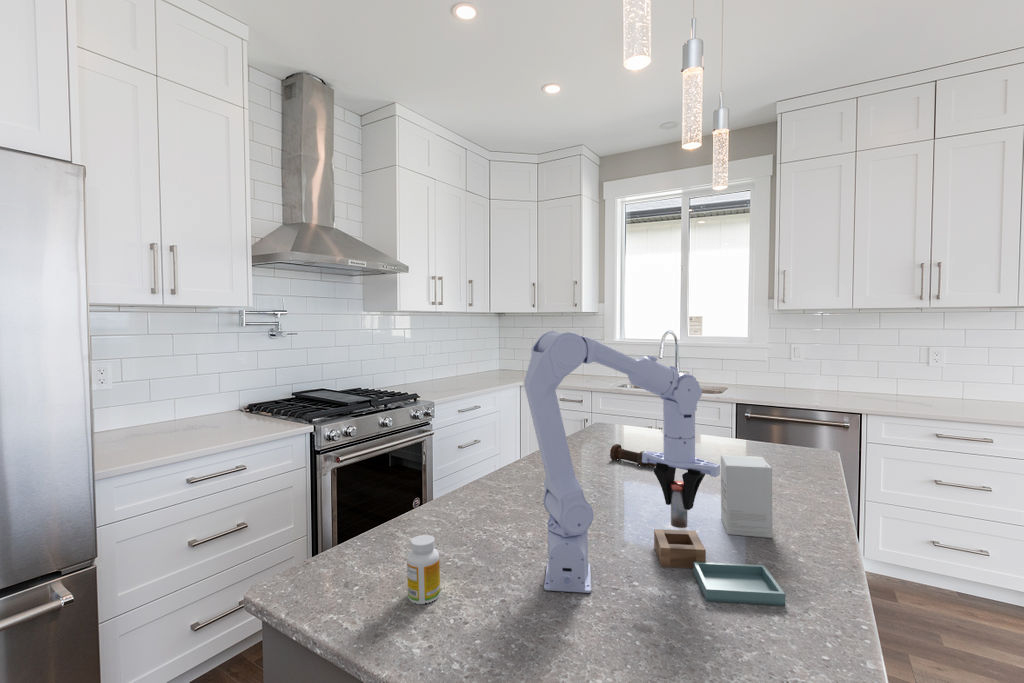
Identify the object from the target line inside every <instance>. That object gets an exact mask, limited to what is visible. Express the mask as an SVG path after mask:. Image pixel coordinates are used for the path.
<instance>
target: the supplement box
mask: <svg viewBox="0 0 1024 683" xmlns="http://www.w3.org/2000/svg"><path fill="white" fill-rule="evenodd" d="M773 514H774V513H773V468H772V466H771V465H769V463H768V462H767V461H766V459H765V458H764V457H763V456H755V455H754V456H751V455H750V456H748V455H727V454H721V455H720V518H721V521H722V524H723V527H724V529H725V531H726V534H727V535H731V536H732V535H733V536H734V535H735V536H744V537H745V536H746V537H756V538H767V539H773V538H774V533H773V531H774V530H773V529H774V528H773V527H774V526H773V524H774V523H773V520H774V519H773V518H774V517H773Z"/></svg>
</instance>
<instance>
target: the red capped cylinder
mask: <svg viewBox="0 0 1024 683" xmlns="http://www.w3.org/2000/svg"><path fill="white" fill-rule="evenodd" d="M670 488H671V504H670V525H671V526H672V527H674V528H679V529H685V528H687V527H688V510H686V509H685V489H684V482H683V480H674V481H670Z"/></svg>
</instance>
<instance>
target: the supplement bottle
mask: <svg viewBox="0 0 1024 683" xmlns="http://www.w3.org/2000/svg"><path fill="white" fill-rule="evenodd" d="M435 541H436V539H435V537H434V536H432V535H430V534H420V535H417V536H414V537H412V538H411V540H410V550H411V551H409V552H408V554H407V557H406V570H407V571H406V572H407V573H406V574H407V576H406V577H407V597H408V600H409V601H410V602H411V603H413V604H415V603H416V604H415V605H426V604H425V603H427V604H430V603H432V601H433V602H435V601H436V600H437V599H439V597H440V594H441V571H440V569H441V568H440V553H439V551H438V550H437V549H436V542H435ZM434 600H435V601H434ZM429 602H430V603H429Z"/></svg>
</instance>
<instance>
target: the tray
mask: <svg viewBox="0 0 1024 683" xmlns="http://www.w3.org/2000/svg"><path fill="white" fill-rule="evenodd" d="M692 569H693V574H694V577H695V579H696V581H697V584H698V586H699V588H700V590H701V592H702V594H703V597H704V599H705V601H706V602H710V603H711V602H713V603H727V604H728V603H729V604H746V605H747V604H749V605H762V606H778V607H779V606H780V607H786V593H785V592H784V590H783V588H781V586H780V584H778V582H777V581H776V580H775V578H774V577H773V576H772V574H771V573H770V571H769V570H768V569H767V567H766V565H764V564H747V563H746V564H744V563H727V562H726V563H725V562H707V561H706V562H693V568H692Z"/></svg>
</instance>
